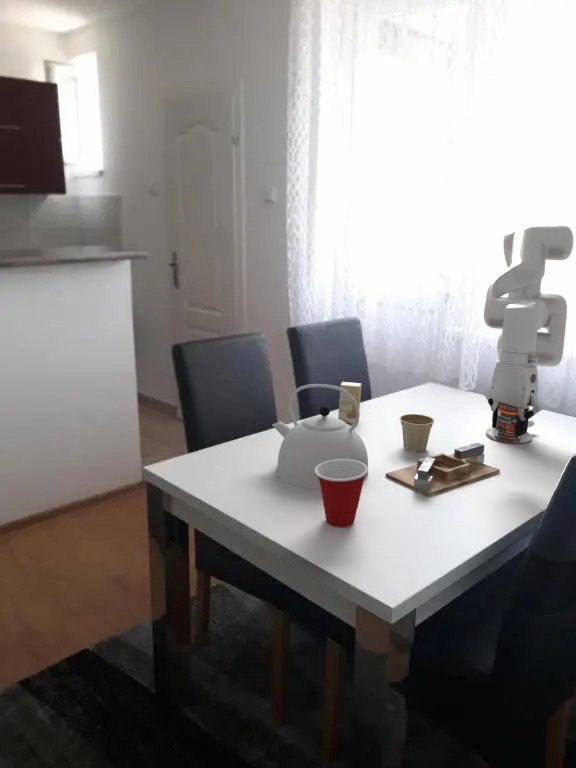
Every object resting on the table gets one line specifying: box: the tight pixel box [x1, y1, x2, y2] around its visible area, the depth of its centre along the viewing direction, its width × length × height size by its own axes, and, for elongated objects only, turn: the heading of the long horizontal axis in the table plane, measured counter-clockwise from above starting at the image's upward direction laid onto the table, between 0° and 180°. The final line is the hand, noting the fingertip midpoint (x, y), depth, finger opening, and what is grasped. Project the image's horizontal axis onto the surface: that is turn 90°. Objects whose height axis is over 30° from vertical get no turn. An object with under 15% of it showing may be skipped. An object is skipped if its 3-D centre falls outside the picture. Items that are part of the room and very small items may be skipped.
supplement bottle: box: [495, 403, 521, 445], centre depth 149 cm, size 6×6×11 cm
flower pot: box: [399, 413, 435, 453], centre depth 172 cm, size 9×9×9 cm
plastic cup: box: [315, 459, 369, 528], centre depth 128 cm, size 11×11×12 cm
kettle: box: [272, 383, 369, 491], centre depth 154 cm, size 25×23×23 cm
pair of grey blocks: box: [414, 442, 485, 491], centre depth 153 cm, size 28×8×5 cm, turn 126°
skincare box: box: [337, 381, 362, 424], centre depth 195 cm, size 6×4×12 cm
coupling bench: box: [385, 452, 501, 497], centre depth 155 cm, size 26×14×3 cm, turn 126°
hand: (508, 430), depth 149 cm, fingers closed on supplement bottle, 6 cm apart
